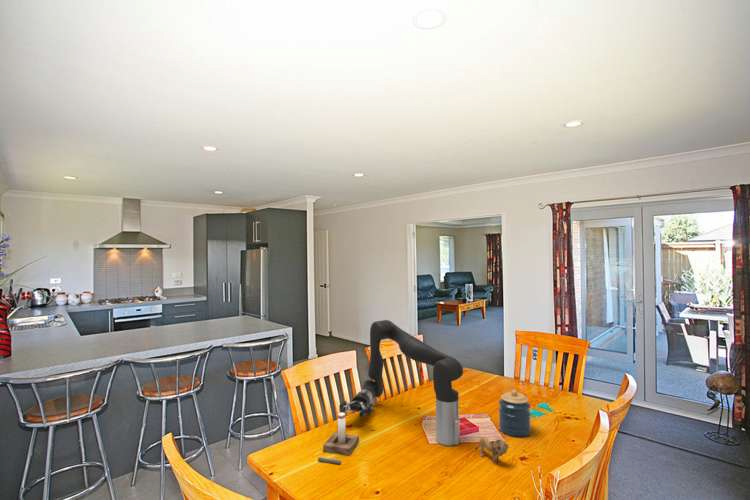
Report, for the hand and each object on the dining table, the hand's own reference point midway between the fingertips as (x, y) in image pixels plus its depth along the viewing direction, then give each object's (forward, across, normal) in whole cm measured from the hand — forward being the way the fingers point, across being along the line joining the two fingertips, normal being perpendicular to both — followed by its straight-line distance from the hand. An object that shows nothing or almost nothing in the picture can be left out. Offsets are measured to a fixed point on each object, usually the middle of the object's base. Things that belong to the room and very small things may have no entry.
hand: (350, 414), depth 163 cm
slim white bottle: (+10, 0, +9) cm, 14 cm away
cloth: (-49, +82, +10) cm, 96 cm away
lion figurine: (+3, +57, +9) cm, 58 cm away
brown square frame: (+10, 0, +9) cm, 14 cm away
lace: (+22, 0, +9) cm, 24 cm away
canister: (-23, +67, +9) cm, 72 cm away
